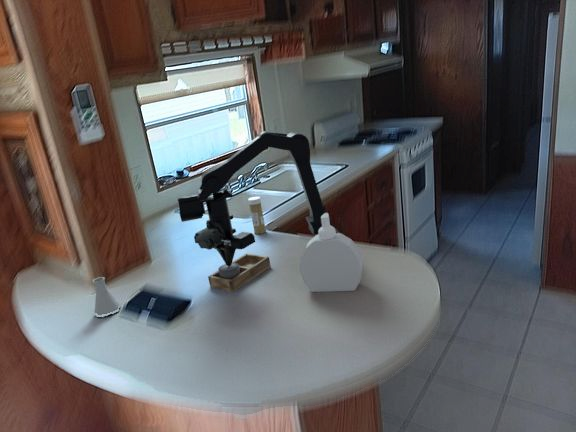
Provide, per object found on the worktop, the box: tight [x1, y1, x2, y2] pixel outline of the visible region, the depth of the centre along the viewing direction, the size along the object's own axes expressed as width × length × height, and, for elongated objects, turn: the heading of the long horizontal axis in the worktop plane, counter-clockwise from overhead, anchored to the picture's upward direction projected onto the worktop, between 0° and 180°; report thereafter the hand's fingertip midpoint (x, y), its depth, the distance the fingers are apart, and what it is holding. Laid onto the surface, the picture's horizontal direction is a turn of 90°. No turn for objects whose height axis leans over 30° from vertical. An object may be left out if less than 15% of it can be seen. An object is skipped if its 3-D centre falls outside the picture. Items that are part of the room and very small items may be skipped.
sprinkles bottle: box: [247, 196, 267, 235], centre depth 173 cm, size 5×5×13 cm
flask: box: [91, 276, 120, 315], centre depth 129 cm, size 7×7×10 cm
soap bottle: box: [299, 212, 364, 293], centre depth 122 cm, size 16×5×20 cm, turn 78°
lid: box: [217, 263, 240, 280], centre depth 136 cm, size 6×6×4 cm
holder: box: [207, 253, 271, 293], centre depth 139 cm, size 9×17×3 cm, turn 145°
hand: (229, 265), depth 136 cm, fingers closed
